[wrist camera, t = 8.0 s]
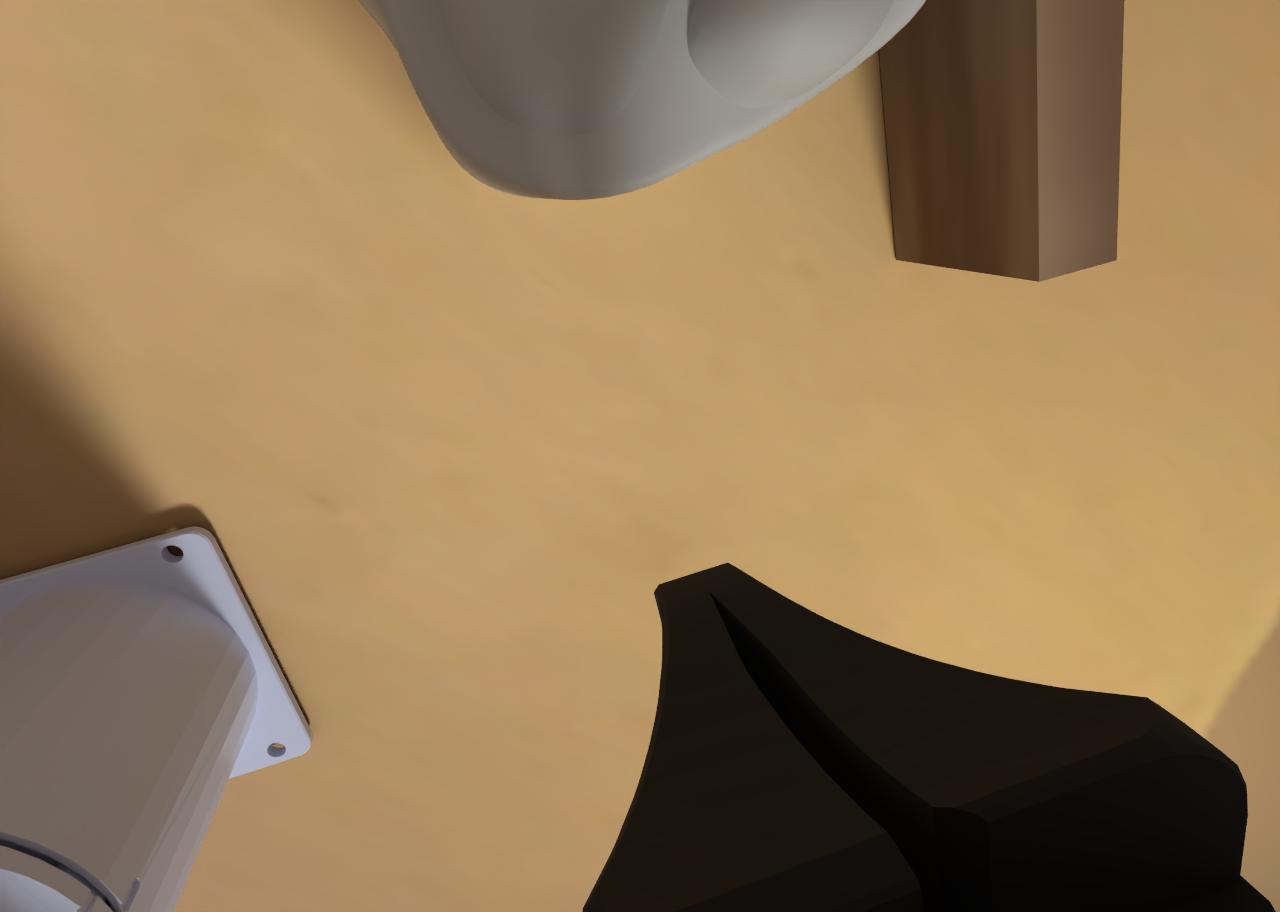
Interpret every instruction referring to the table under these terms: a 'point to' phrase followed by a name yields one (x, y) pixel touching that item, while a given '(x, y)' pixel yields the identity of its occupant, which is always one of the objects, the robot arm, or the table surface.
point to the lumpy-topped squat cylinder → (619, 80)
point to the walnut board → (1005, 135)
